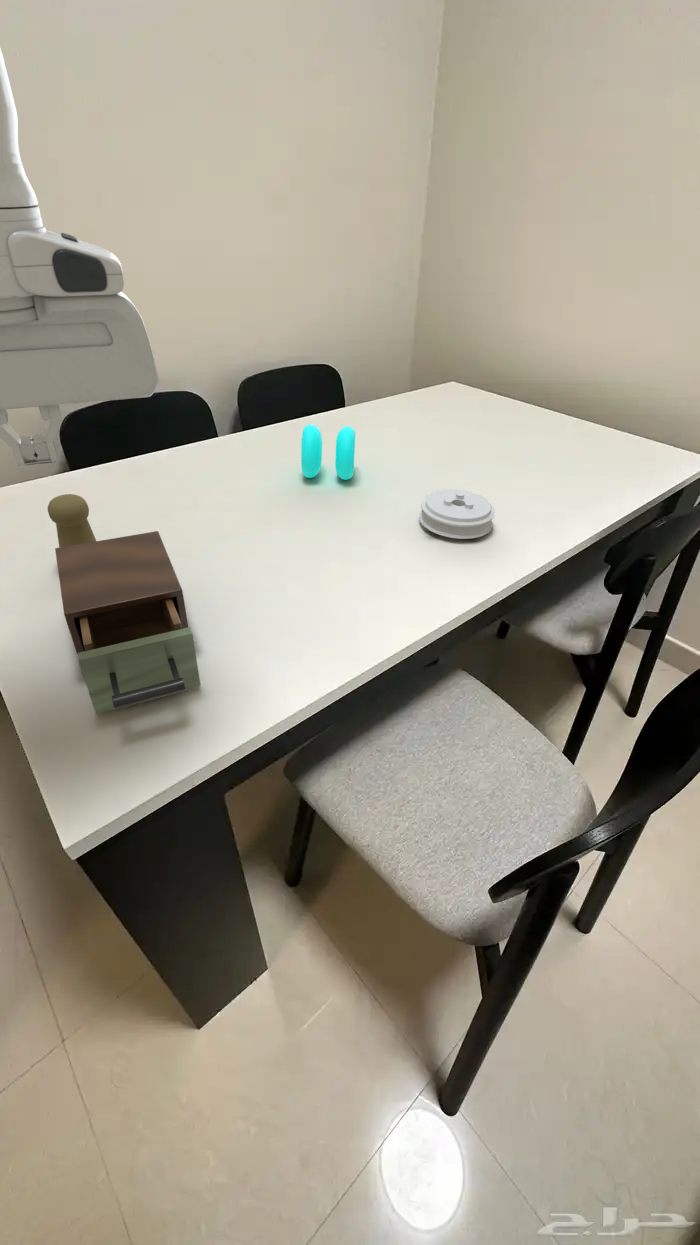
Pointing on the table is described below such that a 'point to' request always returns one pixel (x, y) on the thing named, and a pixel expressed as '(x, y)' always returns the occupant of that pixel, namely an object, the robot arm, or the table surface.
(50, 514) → the cork
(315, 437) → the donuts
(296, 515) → the table surface
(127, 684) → the drawer
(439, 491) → the white grooved pulley wheel
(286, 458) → the table surface
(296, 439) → the table surface
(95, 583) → the cabinet
